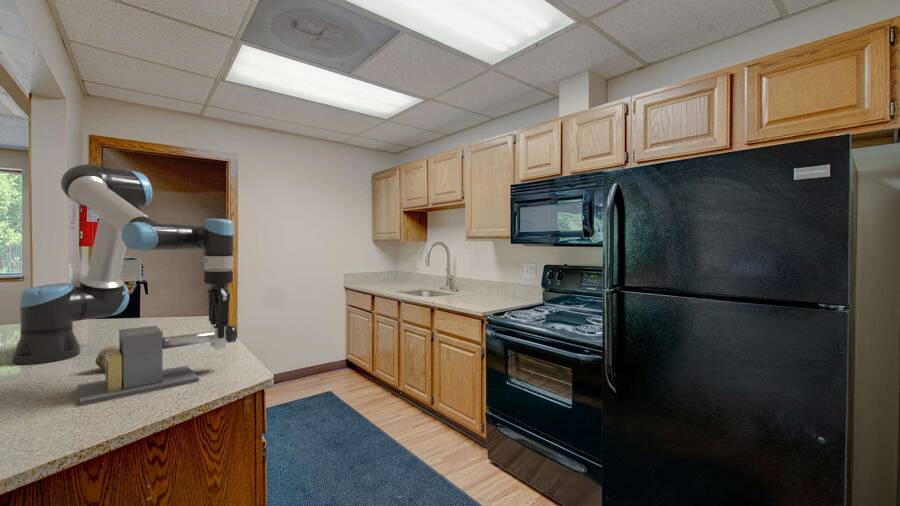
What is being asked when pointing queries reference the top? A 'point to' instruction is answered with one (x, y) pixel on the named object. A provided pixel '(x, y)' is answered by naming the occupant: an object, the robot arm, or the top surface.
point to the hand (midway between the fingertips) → (218, 346)
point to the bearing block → (141, 356)
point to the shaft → (198, 338)
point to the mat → (169, 379)
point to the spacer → (113, 369)
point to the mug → (103, 357)
